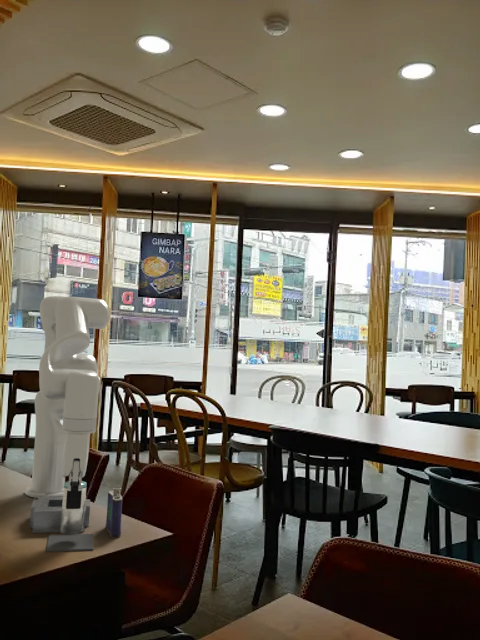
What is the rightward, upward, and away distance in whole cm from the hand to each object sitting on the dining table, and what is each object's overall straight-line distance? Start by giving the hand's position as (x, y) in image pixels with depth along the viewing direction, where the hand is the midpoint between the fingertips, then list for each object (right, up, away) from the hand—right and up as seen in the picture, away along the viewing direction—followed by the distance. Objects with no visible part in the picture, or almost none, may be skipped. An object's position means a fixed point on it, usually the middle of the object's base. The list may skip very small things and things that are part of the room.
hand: (73, 504), depth 128 cm
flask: (+7, -10, +9) cm, 15 cm away
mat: (-1, -9, 0) cm, 9 cm away
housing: (-7, -9, +13) cm, 18 cm away
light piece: (0, -6, 0) cm, 6 cm away
